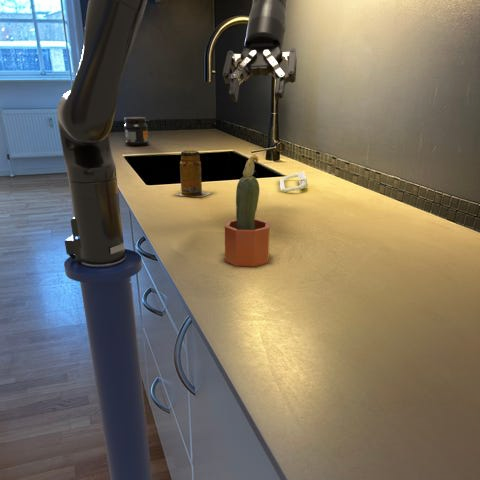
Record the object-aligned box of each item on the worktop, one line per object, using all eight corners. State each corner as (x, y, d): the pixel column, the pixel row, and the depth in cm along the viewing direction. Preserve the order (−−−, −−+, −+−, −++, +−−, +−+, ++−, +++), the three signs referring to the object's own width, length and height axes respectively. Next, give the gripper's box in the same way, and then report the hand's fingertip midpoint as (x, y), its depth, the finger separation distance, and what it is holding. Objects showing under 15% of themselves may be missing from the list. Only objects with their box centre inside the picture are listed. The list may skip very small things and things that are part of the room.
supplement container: (152, 144, 241) (150, 116, 236) (142, 147, 232) (140, 119, 227) (132, 143, 244) (130, 116, 239) (121, 146, 235) (119, 118, 230)
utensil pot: (223, 265, 98) (222, 230, 95) (229, 251, 106) (228, 217, 102) (267, 267, 97) (268, 231, 94) (269, 252, 105) (270, 219, 102)
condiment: (187, 190, 155) (185, 149, 150) (212, 193, 152) (211, 151, 146) (175, 195, 149) (172, 152, 144) (200, 198, 146) (199, 154, 140)
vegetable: (233, 261, 100) (232, 155, 91) (239, 254, 104) (239, 152, 95) (255, 263, 99) (256, 156, 90) (260, 256, 103) (262, 153, 94)
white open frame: (281, 184, 169) (278, 173, 168) (305, 178, 168) (302, 166, 166) (282, 198, 152) (279, 186, 150) (309, 192, 150) (307, 179, 149)
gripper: (227, 16, 101) (215, 86, 97) (299, 12, 97) (289, 84, 94) (235, 45, 108) (224, 111, 104) (302, 42, 105) (294, 110, 101)
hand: (255, 98), depth 99 cm, fingers open, 8 cm apart
